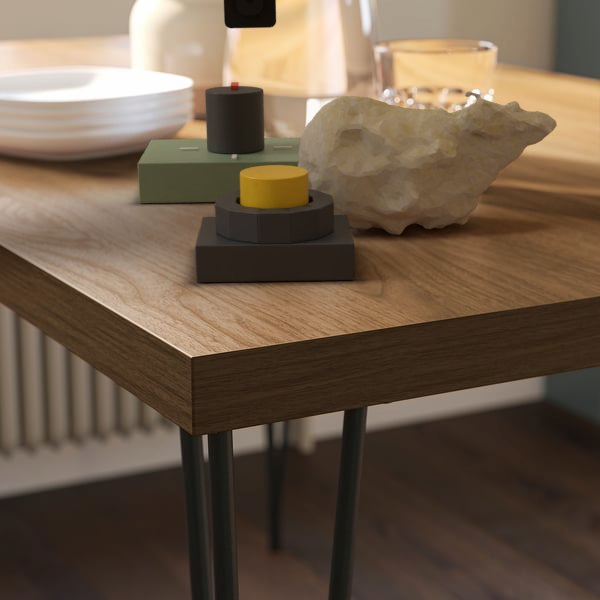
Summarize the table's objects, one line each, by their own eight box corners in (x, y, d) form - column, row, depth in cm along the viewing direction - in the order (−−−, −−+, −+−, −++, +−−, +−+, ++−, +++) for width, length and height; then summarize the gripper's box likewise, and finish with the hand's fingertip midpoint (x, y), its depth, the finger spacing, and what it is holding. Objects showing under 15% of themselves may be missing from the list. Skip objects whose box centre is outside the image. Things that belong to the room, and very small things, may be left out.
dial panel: (139, 203, 86) (137, 160, 85) (153, 176, 96) (151, 137, 95) (330, 200, 87) (329, 158, 86) (324, 173, 96) (324, 135, 95)
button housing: (196, 282, 67) (193, 214, 66) (203, 250, 74) (201, 187, 72) (354, 280, 67) (354, 212, 66) (347, 248, 74) (347, 185, 73)
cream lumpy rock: (253, 258, 79) (362, 142, 67) (253, 166, 82) (356, 40, 70) (446, 300, 85) (576, 200, 73) (438, 213, 89) (562, 104, 77)
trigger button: (239, 214, 67) (238, 179, 67) (241, 198, 71) (240, 165, 70) (309, 213, 67) (309, 177, 67) (307, 197, 71) (307, 164, 71)
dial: (264, 153, 88) (263, 89, 87) (205, 154, 88) (203, 90, 87) (264, 143, 92) (263, 81, 91) (208, 144, 92) (206, 82, 91)
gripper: (187, -243, 81) (198, 13, 86) (172, -287, 64) (187, 34, 69) (296, -245, 81) (301, 11, 86) (310, -288, 64) (314, 31, 70)
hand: (250, 21), depth 78 cm, fingers open, 9 cm apart
